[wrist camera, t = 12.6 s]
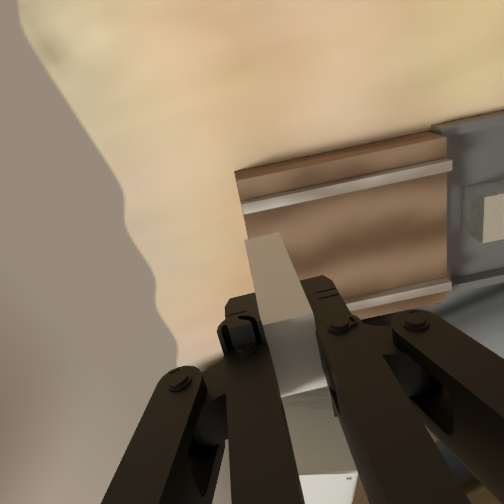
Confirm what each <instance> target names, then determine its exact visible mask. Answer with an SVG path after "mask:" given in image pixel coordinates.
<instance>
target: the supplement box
mask: <svg viewBox="0 0 504 504" xmlns="http://www.w3.org/2000/svg"><path fill="white" fill-rule="evenodd" d="M281 399H282V403H283V407H284V411H285V415H286V420H287V424H288V429H289V433H290V438H291V442H292V447H293V451H294V456H295V460H296V465H297V469H298V474H299V478H300V483H301V487H302V492H303V496H304V501H305V504H352V501H353V497H354V492H355V487H356V483H357V478H358V471H357V468H356V466H355V463H354V460H353V457H352V455H351V452H350V449H349V446H348V444H347V441H346V438H345V435H344V433H343V430H342V427H341V424H340V422H339V419H338V416H337V417H335V416H334V411H333V406H332V401H331V396H330V391H329V389H313V390H309V391H305V392H301V393H297V394H293V395H289V396H285V397H281Z"/></svg>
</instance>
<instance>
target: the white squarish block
mask: <svg viewBox="0 0 504 504" xmlns="http://www.w3.org/2000/svg"><path fill="white" fill-rule="evenodd" d="M461 230H462V231H464V232H465V233H467V234H469V235H470V236H472V237H473V238H475V239H476V240H478V241H480V242H481V243H487V242H492V241H497V240H502V239H504V179H500V180H495V181H490V182H485V183H480V184H475V185H470V186H466V187H462V229H461Z"/></svg>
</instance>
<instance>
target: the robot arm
mask: <svg viewBox="0 0 504 504" xmlns="http://www.w3.org/2000/svg"><path fill="white" fill-rule="evenodd" d="M245 245H246V250H247V255H248V260H249V265H250V269H251V274H252V279H253V284H254V289H255V293H251V294H247V295H243V296H238V297H234V298H230V299H229V301H228V302H227V304H226V306H225V316H226V317H225V320H224V321H223V322H222V323H221V324H220V325H219V326H218V329H217V334H218V337H219V340H220V344H221V347H222V350H223V353H224V358H223V359H222V360H221V361H220V362H219V363H218V364H216V365H215V366H213V367H211V368H210V369H208V370H206V371H204V372H202V373H201V371H200V370H199V369H198V368H196V367H194V366H182V367H178V368H176V369H173V370H171V371H169V372H168V373H167V374H165V375H164V376H163V377H162V378H161V380H160V381H159V382H158V384H157V386H156V388H155V390H154V392H153V394H152V397H151V399H150V401H149V403H148V405H147V407H146V409H145V411H144V414H143V416H142V418H141V420H140V422H139V424H138V426H137V428H136V431H135V433H134V435H133V437H132V439H131V441H130V443H129V445H128V447H127V449H126V451H125V454H124V456H123V458H122V460H121V462H120V464H119V466H118V468H117V470H116V473H115V475H114V477H113V479H112V481H111V483H110V485H109V488H108V489H107V492H106V494H105V496H104V498H103V500H102V502H101V504H212V501H213V497H214V492H215V488H216V484H217V479H218V475H219V471H220V466H221V462H222V458H223V453H224V449H225V440H226V439H228V442H229V460H230V480H231V499H232V504H305V501H304V496H303V492H302V487H301V483H300V478H299V474H298V469H297V465H296V460H295V456H294V451H293V447H292V442H291V438H290V433H289V429H288V424H287V420H286V415H285V411H284V407H283V403H282V399H281V397H285V396H289V395H293V394H297V393H301V392H305V391H309V390H313V389H318V388H322V387H325V386H327V382H328V385H329V391H330V396H331V401H332V406H333V411H334V416H335V417H337V416H338V419H339V422H340V424H341V427H342V430H343V433H344V435H345V438H346V441H347V444H348V446H349V449H350V452H351V455H352V457H353V460H354V463H355V466H356V468H357V471H358V474H359V477H360V479H361V482H362V485H363V487H364V490H365V493H366V496H367V499H368V501H369V504H471V503H470V501H469V499H468V498H467V496H466V494H465V493H464V491H463V489H462V487H461V486H460V484H459V482H458V481H457V479H456V477H455V476H454V474H453V472H452V471H451V469H450V467H449V466H448V464H447V462H446V461H445V459H444V457H443V456H442V454H441V452H440V451H439V449H438V447H437V446H436V444H435V442H434V441H433V439H432V437H431V436H430V434H429V433H428V431H427V429H426V427H427V428H428V429H429V430H430V431H431V432H432V433H433V434H434V435H435V436H436V437H437V438H438V439H439V440H440V441H441V442H442V443H443V444H444V445H445V446H446V447H447V448H448V449H449V450H450V451H451V452H452V453H453V454H454V455H455V456H456V457H457V458H458V460H459V461H460V462H461V463H462V464H463V465H464V466H465V467H466V468H467V469H468V470H469V471H470V472H471V473H472V474H473V475H474V476H475V477H476V478H477V479H478V480H479V481H480V482H481V483H482V484H483V485H484V486H485V487H486V488H487V489H488V490H489V491H490V492H491V493H492V494H493V495H494V496H495V497H496V498H497V499H498V500H499V501H500V502H501V503H502V504H504V359H503V358H501V357H500V356H498V355H497V354H495V353H494V352H492V351H491V350H489V349H488V348H486V347H485V346H483V345H482V344H480V343H478V342H477V341H475V340H474V339H472V338H471V337H469V336H468V335H466V334H465V333H463V332H462V331H460V330H459V329H457V328H456V327H454V326H452V325H451V324H449V323H448V322H446V321H445V320H443V319H442V318H440V317H439V316H437V315H436V314H433V313H431V312H429V311H425V310H407V311H403V312H400V313H399V314H397V315H395V316H394V318H393V319H392V321H391V324H392V326H371V325H366V324H363V322H362V320H361V319H360V318H358V317H357V316H355V315H352V314H351V312H350V311H349V309H348V307H347V305H346V304H345V302H344V300H343V298H342V297H341V295H340V293H339V292H338V290H337V289H336V286H335V285H334V283H333V281H332V280H331V279H329V278H327V277H325V276H324V275H320V276H316V277H312V278H308V279H304V280H300V281H299V278H298V276H297V274H296V271H295V269H294V267H293V264H292V262H291V260H290V257H289V255H288V252H287V250H286V248H285V245H284V243H283V241H282V238H281V236H280V234H279V232H276V233H272V234H268V235H264V236H260V237H256V238H251V239H247V240H245ZM326 380H327V382H326ZM424 425H425V426H426V427H425V426H424Z"/></svg>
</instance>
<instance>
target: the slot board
mask: <svg viewBox="0 0 504 504" xmlns="http://www.w3.org/2000/svg"><path fill="white" fill-rule="evenodd" d="M448 171H452V160H450V159H448V158H447V137H445V136H442V135H438V134H434V133H431V132H427V131H426V132H421V133H416V134H412V135H407V136H402V137H397V138H392V139H388V140H383V141H378V142H373V143H369V144H364V145H359V146H354V147H349V148H345V149H340V150H335V151H330V152H326V153H321V154H316V155H311V156H306V157H302V158H297V159H292V160H287V161H283V162H278V163H273V164H268V165H264V166H259V167H254V168H249V169H244V170H240V171H235V172H234V173H235V177H236V182H237V187H238V192H239V197H240V201H241V206H242V211H243V216H244V221H245V226H246V230H247V235H248V239H251V238H256V237H260V236H264V235H268V234H272V233H276V232H279V234H280V236H281V238H282V241H283V243H284V245H285V248H286V250H287V252H288V255H289V257H290V260H291V262H292V264H293V267H294V269H295V271H296V274H297V276H298V278H299V281H300V280H304V279H308V278H312V277H316V276H320V275H324V276H325V277H327V278H329V279H331V280H332V281H333V283H334V285H335V286H336V289H337V290H338V292H339V293H340V295H341V297H342V298H343V300H344V302H345V304H346V305H347V307H348V309H349V311H350V312H351V314H352V315H355V316H357V317H358V318H360V319H366V318H370V317H375V316H380V315H384V314H389V313H394V312H399V311H403V310H408V309H413V308H417V307H422V306H427V305H431V304H436V303H441V302H445V301H447V291H449V290H452V282H451V281H450V280H449V279H448V278H447V172H448Z"/></svg>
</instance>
